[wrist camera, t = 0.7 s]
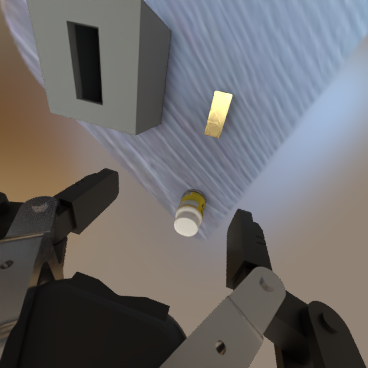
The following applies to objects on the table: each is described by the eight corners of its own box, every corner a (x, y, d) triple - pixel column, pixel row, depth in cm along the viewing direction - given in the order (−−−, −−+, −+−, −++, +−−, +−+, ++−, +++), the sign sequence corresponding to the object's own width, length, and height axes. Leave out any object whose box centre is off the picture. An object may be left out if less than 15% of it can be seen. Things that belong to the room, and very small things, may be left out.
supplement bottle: (202, 211, 35) (196, 242, 28) (181, 204, 35) (169, 233, 28) (208, 192, 32) (203, 221, 25) (185, 186, 33) (173, 212, 26)
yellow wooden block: (217, 91, 24) (215, 90, 19) (231, 94, 24) (232, 94, 19) (208, 126, 26) (204, 134, 21) (220, 129, 26) (219, 138, 21)
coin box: (89, 14, 23) (21, -25, 15) (171, 31, 22) (140, -3, 14) (96, 107, 29) (50, 112, 22) (160, 123, 28) (135, 135, 20)
